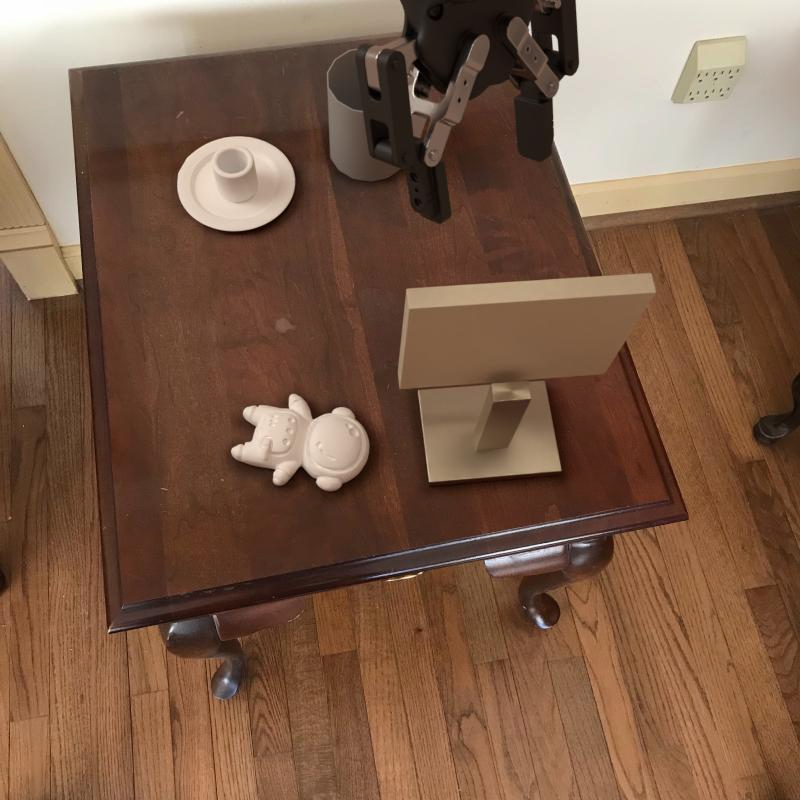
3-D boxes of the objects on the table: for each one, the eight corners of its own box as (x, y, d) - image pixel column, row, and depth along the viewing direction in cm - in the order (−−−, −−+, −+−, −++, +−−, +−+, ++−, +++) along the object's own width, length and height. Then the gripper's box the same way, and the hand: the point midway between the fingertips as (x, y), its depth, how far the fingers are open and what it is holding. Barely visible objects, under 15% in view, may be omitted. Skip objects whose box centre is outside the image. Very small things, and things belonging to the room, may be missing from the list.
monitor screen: (397, 370, 68) (406, 286, 56) (600, 355, 69) (651, 270, 57) (399, 389, 67) (408, 308, 55) (604, 374, 69) (656, 292, 57)
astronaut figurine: (255, 386, 78) (252, 372, 75) (379, 420, 77) (380, 407, 74) (223, 472, 74) (217, 460, 71) (352, 508, 73) (352, 498, 71)
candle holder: (159, 168, 87) (150, 139, 83) (262, 125, 90) (258, 96, 86) (209, 253, 83) (202, 227, 79) (316, 205, 86) (314, 178, 82)
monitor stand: (416, 394, 78) (427, 333, 67) (542, 385, 79) (572, 323, 68) (428, 486, 74) (440, 437, 63) (559, 475, 76) (594, 425, 64)
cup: (389, 191, 87) (393, 124, 78) (317, 165, 88) (312, 96, 79) (418, 133, 91) (425, 62, 81) (348, 109, 91) (348, 36, 82)
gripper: (395, -74, 34) (444, 262, 45) (617, -165, 40) (613, 152, 50) (289, -86, 38) (357, 221, 49) (502, -166, 44) (521, 124, 55)
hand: (487, 186), depth 50 cm, fingers open, 8 cm apart
